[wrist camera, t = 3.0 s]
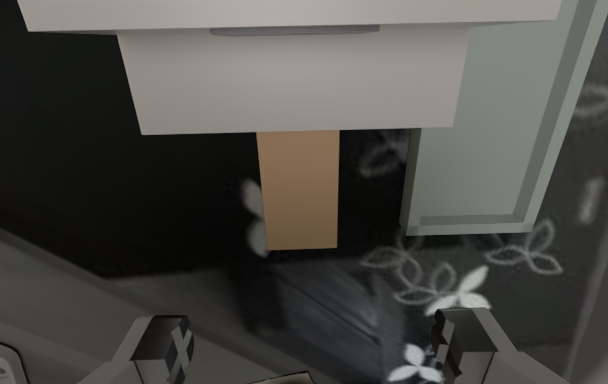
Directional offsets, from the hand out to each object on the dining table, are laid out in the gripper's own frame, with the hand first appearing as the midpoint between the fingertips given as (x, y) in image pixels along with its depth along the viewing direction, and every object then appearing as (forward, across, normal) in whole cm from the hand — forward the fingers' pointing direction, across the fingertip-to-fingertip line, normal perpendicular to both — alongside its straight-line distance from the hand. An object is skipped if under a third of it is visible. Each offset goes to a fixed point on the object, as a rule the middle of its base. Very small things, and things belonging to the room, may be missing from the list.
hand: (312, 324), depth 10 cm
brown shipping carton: (+13, 0, +2) cm, 13 cm away
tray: (+13, +12, +4) cm, 18 cm away
